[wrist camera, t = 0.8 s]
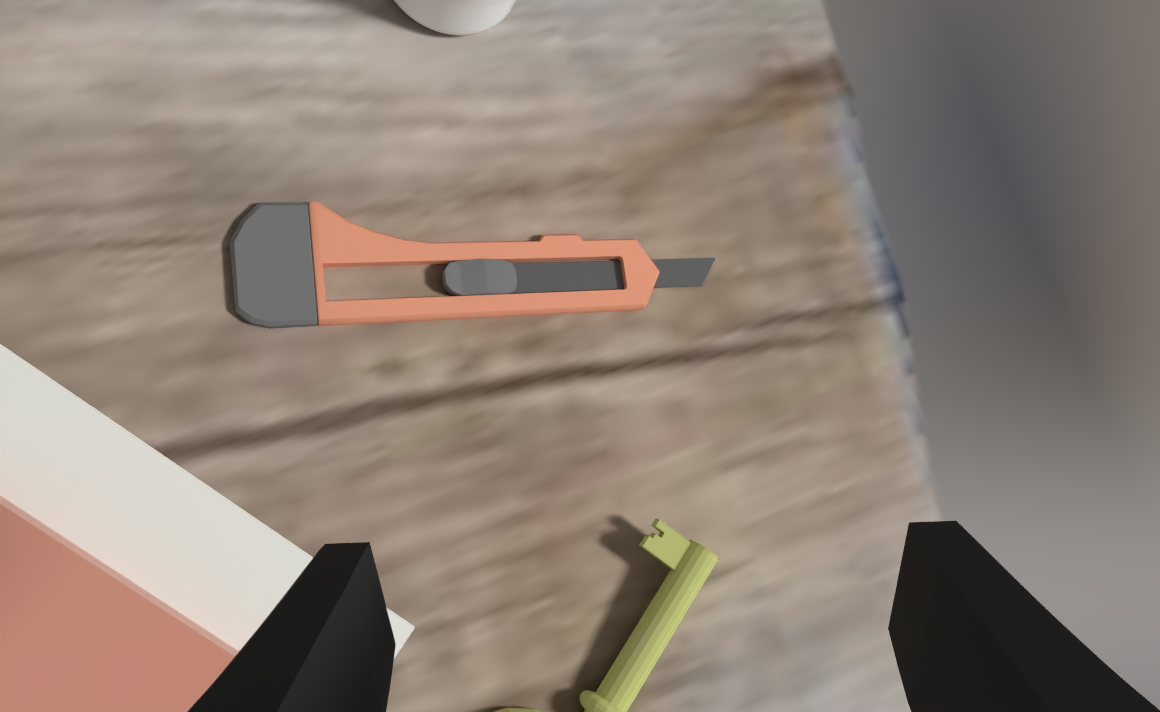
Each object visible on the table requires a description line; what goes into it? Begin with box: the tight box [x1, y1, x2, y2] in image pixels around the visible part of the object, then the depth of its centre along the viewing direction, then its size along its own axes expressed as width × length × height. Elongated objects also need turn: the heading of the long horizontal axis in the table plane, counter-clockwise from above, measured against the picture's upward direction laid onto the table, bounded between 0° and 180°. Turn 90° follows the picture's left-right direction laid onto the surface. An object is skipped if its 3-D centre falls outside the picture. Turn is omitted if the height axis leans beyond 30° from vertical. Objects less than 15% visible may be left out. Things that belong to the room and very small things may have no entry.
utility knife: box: [229, 202, 715, 328], centre depth 31 cm, size 4×1×18 cm
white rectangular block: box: [0, 344, 415, 658], centre depth 23 cm, size 11×15×3 cm
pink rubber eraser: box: [0, 496, 239, 712], centre depth 20 cm, size 6×9×2 cm, turn 56°
